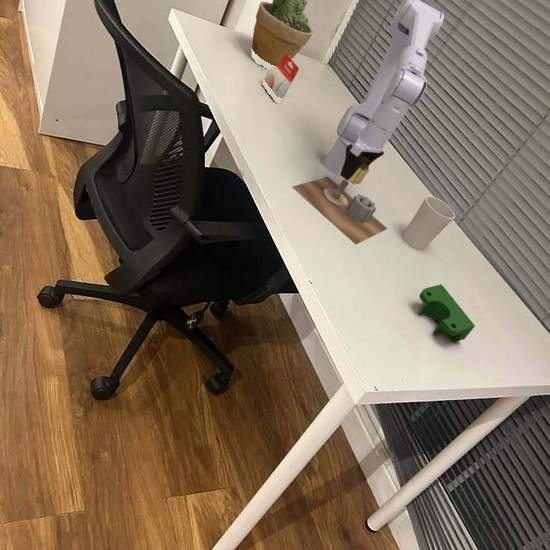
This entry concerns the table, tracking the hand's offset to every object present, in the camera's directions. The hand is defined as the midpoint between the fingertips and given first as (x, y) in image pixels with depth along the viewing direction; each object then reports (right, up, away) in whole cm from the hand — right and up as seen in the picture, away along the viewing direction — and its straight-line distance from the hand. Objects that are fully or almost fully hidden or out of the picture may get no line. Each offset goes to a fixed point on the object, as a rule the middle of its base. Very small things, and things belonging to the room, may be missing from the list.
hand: (350, 174), depth 127 cm
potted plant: (-20, +46, +53) cm, 73 cm away
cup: (+15, -16, +7) cm, 23 cm away
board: (-3, -8, +2) cm, 9 cm away
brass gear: (0, 0, 0) cm, 1 cm away
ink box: (-19, +30, +35) cm, 50 cm away
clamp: (+15, -33, -14) cm, 39 cm away
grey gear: (+2, -9, +2) cm, 10 cm away
